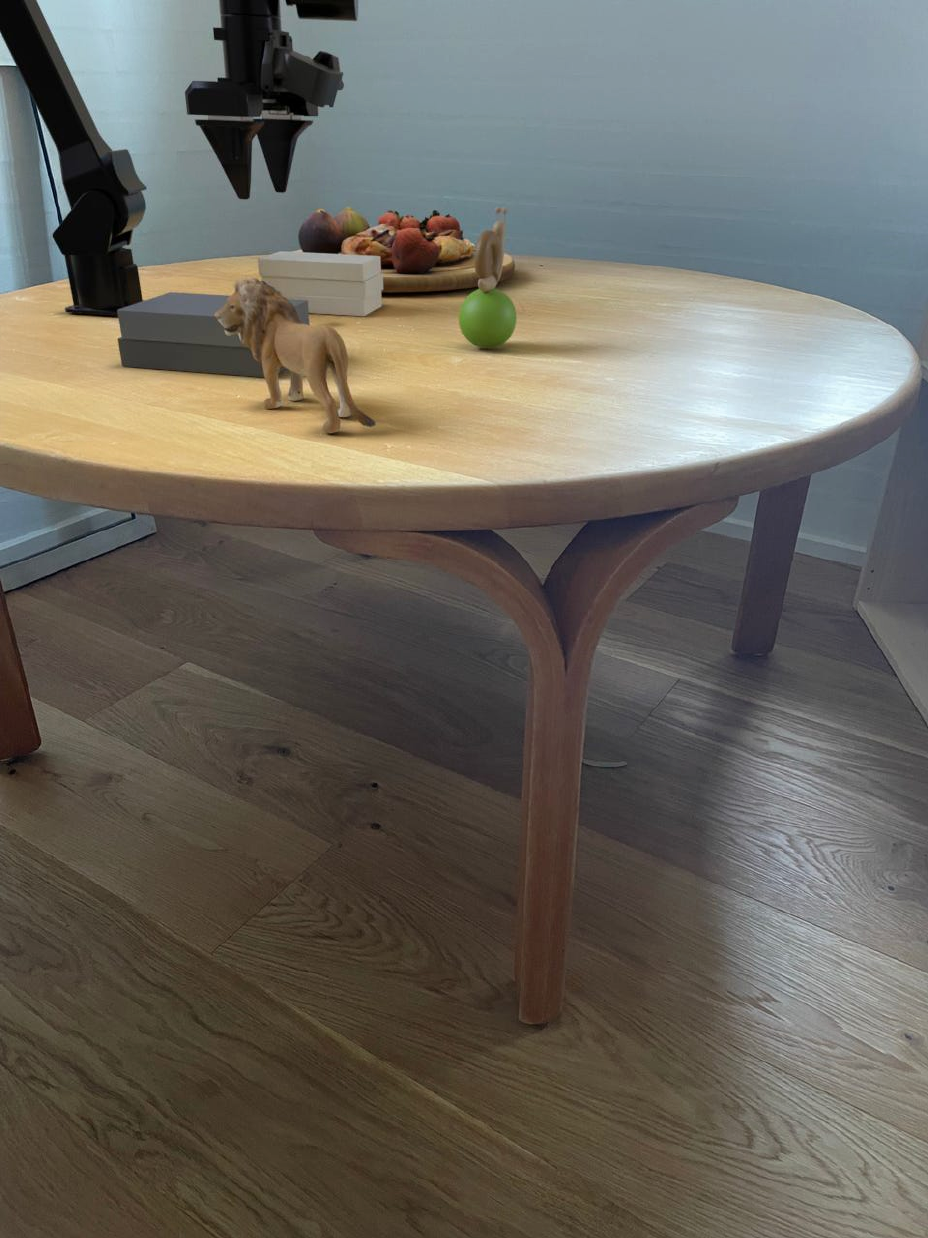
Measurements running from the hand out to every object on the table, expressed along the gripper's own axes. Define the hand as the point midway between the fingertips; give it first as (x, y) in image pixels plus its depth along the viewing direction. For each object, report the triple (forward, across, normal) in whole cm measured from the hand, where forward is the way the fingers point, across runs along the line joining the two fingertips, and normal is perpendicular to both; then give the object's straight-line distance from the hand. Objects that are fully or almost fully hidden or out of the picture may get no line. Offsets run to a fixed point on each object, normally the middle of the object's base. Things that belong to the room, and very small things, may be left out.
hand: (263, 195), depth 96 cm
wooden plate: (+12, +27, -6) cm, 30 cm away
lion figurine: (+12, -35, -17) cm, 41 cm away
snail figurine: (+11, -10, -27) cm, 31 cm away
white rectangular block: (+8, +3, -5) cm, 10 cm away
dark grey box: (+12, -22, -4) cm, 25 cm away
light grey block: (+12, +3, -5) cm, 13 cm away
